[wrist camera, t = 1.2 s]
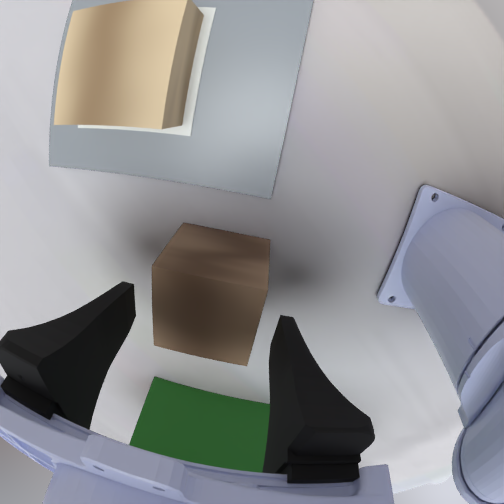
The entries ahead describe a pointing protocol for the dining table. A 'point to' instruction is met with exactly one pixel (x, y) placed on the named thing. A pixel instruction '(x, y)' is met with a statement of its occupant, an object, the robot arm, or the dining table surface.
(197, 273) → the walnut cube
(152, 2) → the oak block
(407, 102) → the dining table surface
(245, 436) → the hardback book
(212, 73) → the build plate
